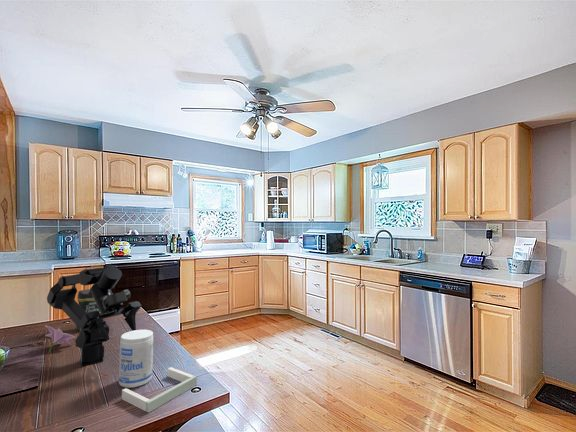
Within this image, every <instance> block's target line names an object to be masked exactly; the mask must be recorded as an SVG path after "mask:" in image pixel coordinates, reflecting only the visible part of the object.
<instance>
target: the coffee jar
mask: <svg viewBox="0 0 576 432" xmlns="http://www.w3.org/2000/svg"><path fill="white" fill-rule="evenodd" d="M89 291H90V288H88V289H87V288H86V289H82V290H80V289H79V291H77V292H78V293H77V296H76V300H77V303H78V304H79V305H80V306H81V307H82V308H83V309H84V310H85V311H86V312H87V313H88V312H92V311H99V309H98V308H97V309H96V308H95V305H96V302H95V300H94V298H93V296H92V295H90V296H89V295H88V293H89ZM99 313H100V311H99ZM100 314H101V313H100ZM75 325H76V324H75ZM75 328H76V331H79V332H80V328H79V327H78V326H77V325H76V326H75Z"/></svg>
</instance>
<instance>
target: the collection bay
mask: <svg viewBox="0 0 576 432" xmlns="http://www.w3.org/2000/svg"><path fill="white" fill-rule="evenodd" d="M167 377H168V378H170V379H173V380H176V381H179V382H180V383H178V384H176V385H173V386H172V387H171V388H168V389H167V390H165V391H163V392H161V393H159V394H158V395H155V396H153V397H151V398H150V399H149V398H147V397H145V396H143V395H141V394H139V393H137V392H135V391H133V390H130V388H126V387H124V389H123V388H122V390H121V400H123V401H125V402H126V403H129V404H131V405H132V406H134V407H136V408H139V409H140V410H142V411H144V412H147V413H150V412H152V411H154V410H156V409H158V408H159V407H161V406H163V405H164V404H166V403H168V402H169V401H171V400H173V399H175V398H177V397H178V396H180V395H182V394H183V393H185V392H186V391H188V390H191V389H192V388H194V387H195V385H196V386H197V385H198V383H197V382H198V380H197V379H198V377H197V376H196V375H193V374H191V373H188V372H186V371H183V370H180V369H177V368H175V367H172V366H170V367H168V368H167Z"/></svg>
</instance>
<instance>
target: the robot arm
mask: <svg viewBox="0 0 576 432" xmlns="http://www.w3.org/2000/svg"><path fill="white" fill-rule="evenodd" d="M122 276H123V272H122V270H120V269H119V268H118V267H116V266H113V265H112V264H106V265H105V266H104V267H93V268H86V269H82V270H81V271H79V273H76V274H71V275H62V276H60V277H59V278H58V281H57V282H56V283H55V284H54V285H53V286H52V287H50V289H49V292H48V294H47V297H46V301H47V304H48V305H49V306H51V307H52V308H53V309H56V310H61V311H63V312H64V313H65V314H66V315H67V316H68V318H69V319H70V320H71V321H72V322H73V323H74V324H75V325H77V326H78V327H79V328H80V331H79V334H78V336H77V337H76V338H75V340H74V342H75V347H77V348H79V349H80V358H79V362H80V365H81V367H86V366H90V365H94V364H97V363H100V362H102V363H103V362H104V358H105V345H104V343H105V342H108V341H109V340H110V336H109V334H110V326H109V325H108V324H107V323H106V322H107V321H106V320H105V319H109V318H113V317H117V316H120V315H122V316H123V317H124V321H125V323H126V324H127V325H128V326H129V328H130V329H131V331H134V330H137V325H136V324H137V323H136V317H137V316H136V314H137V312H139V310H140V309H141V307H142V304H141V302H140V301H137V300H135V301H131V302H128V303H127V304H126V305H125V307H123V305H124V304H123V303H125V302H127V301H128V299H131V297H132V295H131V294H132V293H131V291H130V290H129V289H128V288H127V289H123V290H122V291H120V292H116V293H113V292H112V289H114V288H115V286H116V285H117V284H118V282H119V280H120V279H121V278H122ZM77 284H78V285H79V284H80V285H82V286H91V287H90V288H89V289H90V291H89V293H88V295H89V296H90V295H92V296H93V298H94V300H95V302H96V305H95V308H96V309H97V308H98V309H99V311H100V313H99V311H92V312H88V313H87V312H86V311H85V310H84V309H83V308H82V307H81V306H80V305H79V302H78V301H76V300H75V299H76V297H77V294H78V293H77V292H78V290H77V287H76V285H77ZM70 286H71V288H66V289H64V287H70Z"/></svg>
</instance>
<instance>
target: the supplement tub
mask: <svg viewBox="0 0 576 432" xmlns="http://www.w3.org/2000/svg"><path fill="white" fill-rule="evenodd" d="M119 341H120V342H119V356H118V357H119V361H118V384H119V386H120V387H122V388H127V389H130V388H137V387H141V386H143V385H146V384H147V383H149V382H150V381H151V380H152V378H153V365H154V363H153V360H154V331H152V330H149V329H136V330H134V331H132V330H131V331H127V332H125V333H123V334H121V336H120V340H119Z"/></svg>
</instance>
